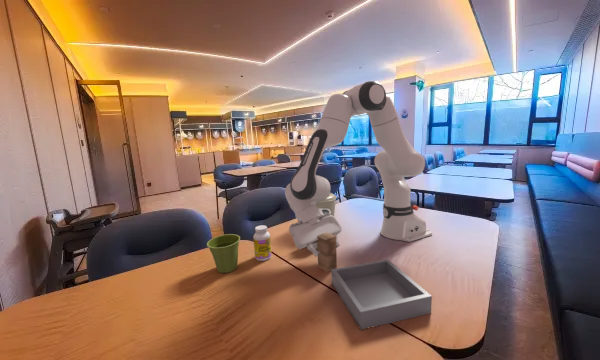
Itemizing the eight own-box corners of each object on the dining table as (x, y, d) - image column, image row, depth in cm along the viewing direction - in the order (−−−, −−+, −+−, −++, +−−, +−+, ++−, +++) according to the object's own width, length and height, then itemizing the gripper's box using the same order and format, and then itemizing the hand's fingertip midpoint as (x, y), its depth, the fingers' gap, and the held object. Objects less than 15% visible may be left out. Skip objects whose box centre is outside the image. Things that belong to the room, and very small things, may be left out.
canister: (339, 234, 117) (338, 191, 113) (302, 235, 117) (300, 193, 114) (335, 221, 134) (334, 183, 131) (302, 222, 135) (300, 185, 131)
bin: (387, 272, 83) (387, 259, 82) (431, 313, 63) (431, 295, 63) (331, 283, 78) (331, 269, 78) (360, 330, 59) (360, 312, 58)
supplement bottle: (258, 263, 94) (255, 231, 91) (253, 256, 100) (250, 226, 97) (274, 258, 97) (271, 228, 94) (268, 252, 103) (266, 223, 100)
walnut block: (327, 262, 92) (326, 232, 90) (336, 267, 88) (335, 236, 86) (318, 266, 89) (316, 235, 87) (327, 272, 85) (325, 240, 83)
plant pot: (223, 258, 99) (220, 232, 97) (249, 262, 95) (246, 235, 93) (203, 274, 88) (199, 245, 86) (231, 279, 84) (227, 249, 82)
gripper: (290, 221, 85) (308, 257, 79) (332, 208, 96) (351, 239, 90) (284, 229, 89) (301, 264, 83) (325, 216, 101) (343, 246, 95)
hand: (328, 251), depth 87 cm, fingers open, 8 cm apart
